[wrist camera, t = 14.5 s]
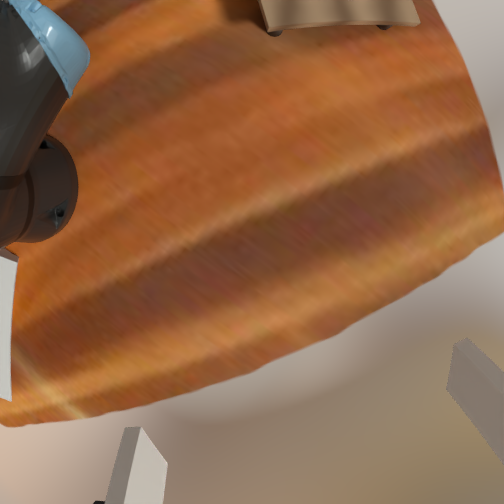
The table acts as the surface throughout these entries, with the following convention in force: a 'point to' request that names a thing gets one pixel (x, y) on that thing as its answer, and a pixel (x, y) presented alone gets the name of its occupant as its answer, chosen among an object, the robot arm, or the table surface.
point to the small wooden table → (336, 13)
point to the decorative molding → (6, 318)
